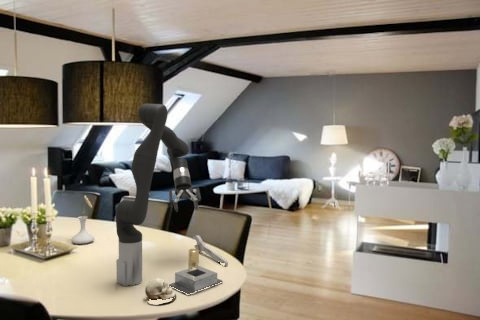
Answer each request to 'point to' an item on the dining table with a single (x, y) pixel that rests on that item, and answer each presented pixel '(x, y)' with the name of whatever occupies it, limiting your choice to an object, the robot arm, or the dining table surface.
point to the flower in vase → (83, 228)
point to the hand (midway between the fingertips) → (186, 210)
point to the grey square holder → (194, 279)
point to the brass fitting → (193, 258)
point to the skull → (159, 290)
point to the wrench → (208, 250)
